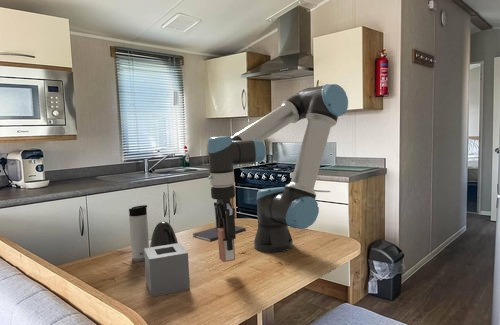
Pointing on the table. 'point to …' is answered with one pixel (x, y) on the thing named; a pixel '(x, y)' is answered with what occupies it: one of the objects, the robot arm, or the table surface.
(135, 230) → the travel mug
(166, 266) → the socket block
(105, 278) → the table surface
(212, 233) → the notebook
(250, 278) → the table surface
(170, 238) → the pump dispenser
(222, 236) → the peg
